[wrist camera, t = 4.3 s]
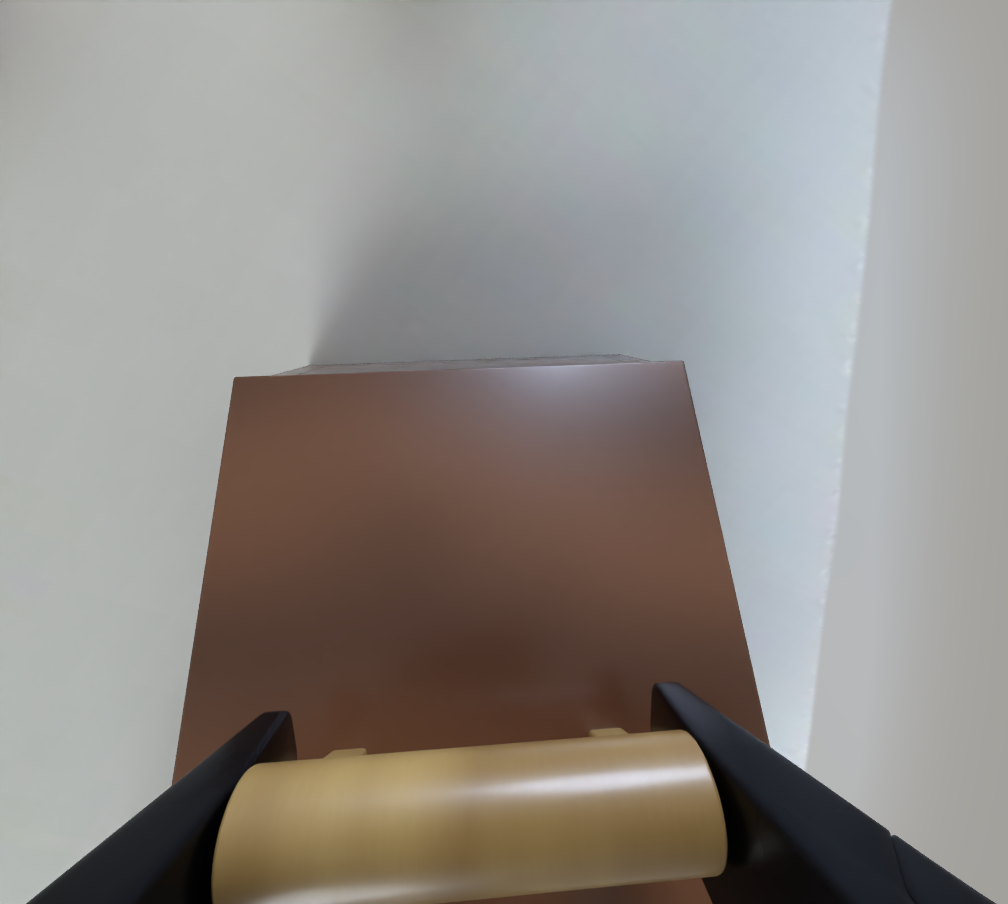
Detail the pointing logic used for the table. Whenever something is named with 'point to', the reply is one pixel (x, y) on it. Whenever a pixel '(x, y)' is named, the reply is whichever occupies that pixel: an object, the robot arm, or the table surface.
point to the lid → (467, 638)
